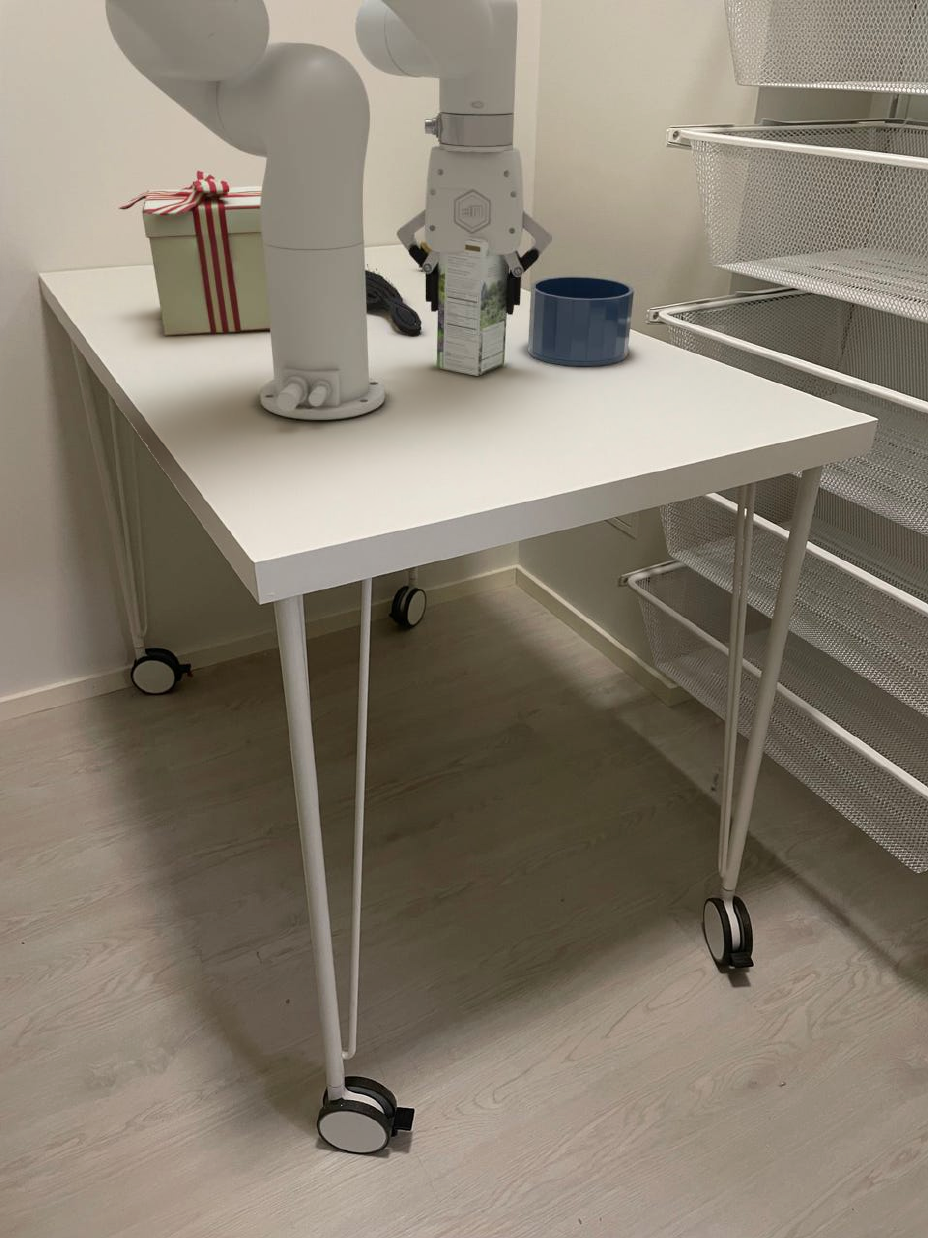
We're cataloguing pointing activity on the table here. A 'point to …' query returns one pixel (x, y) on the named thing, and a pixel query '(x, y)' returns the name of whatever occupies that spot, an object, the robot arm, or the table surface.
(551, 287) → the crock
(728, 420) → the table surface
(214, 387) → the table surface
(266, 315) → the gift box
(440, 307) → the syrup box
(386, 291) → the hairbrush
